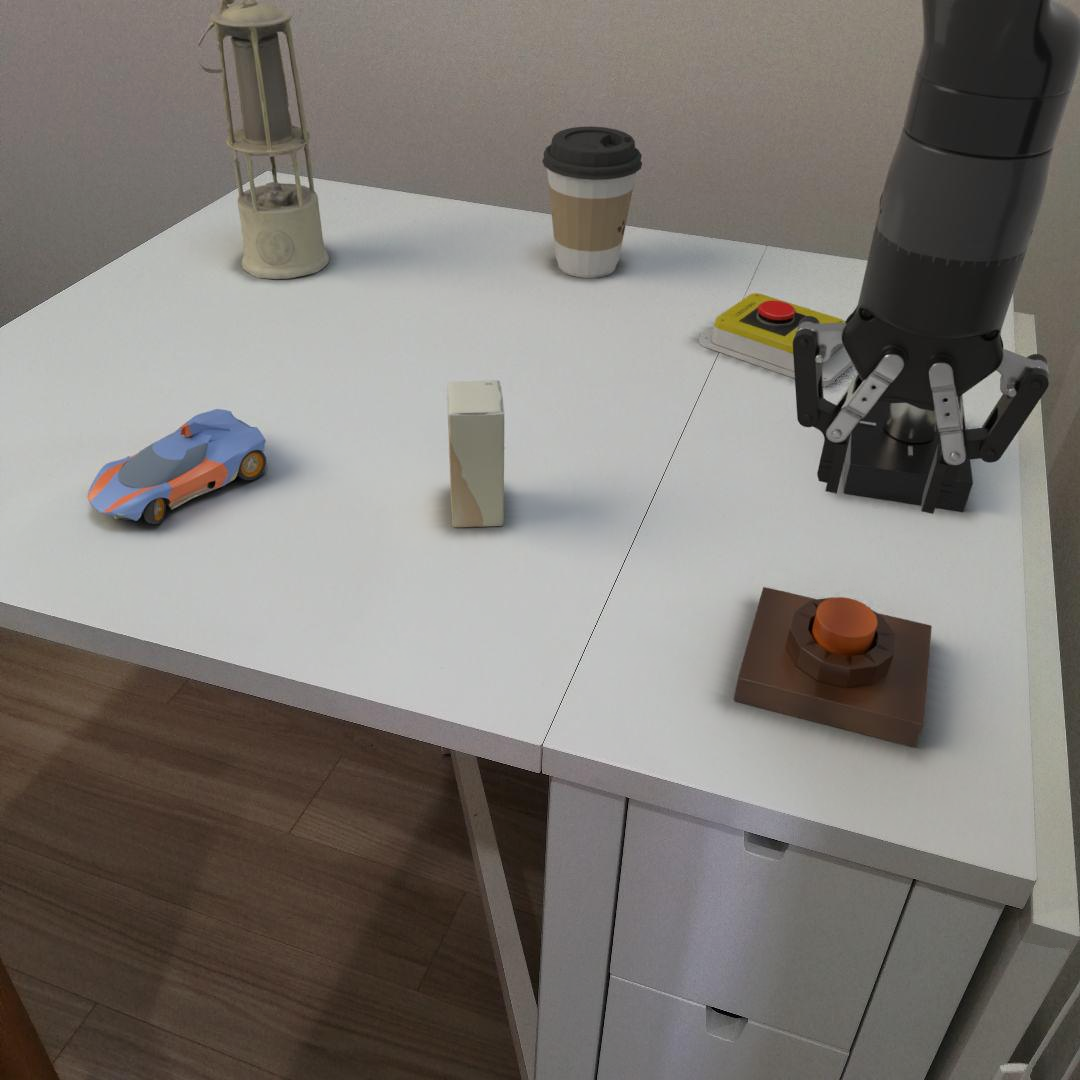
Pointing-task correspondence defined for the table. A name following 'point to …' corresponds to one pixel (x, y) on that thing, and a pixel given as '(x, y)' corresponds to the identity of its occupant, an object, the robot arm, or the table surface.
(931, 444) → the panel
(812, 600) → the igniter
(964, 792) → the table surface
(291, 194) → the lamp
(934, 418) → the hob knob
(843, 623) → the button
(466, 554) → the table surface
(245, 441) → the toy car
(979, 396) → the table surface
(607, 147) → the coffee cup
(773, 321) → the emergency button
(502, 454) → the box
